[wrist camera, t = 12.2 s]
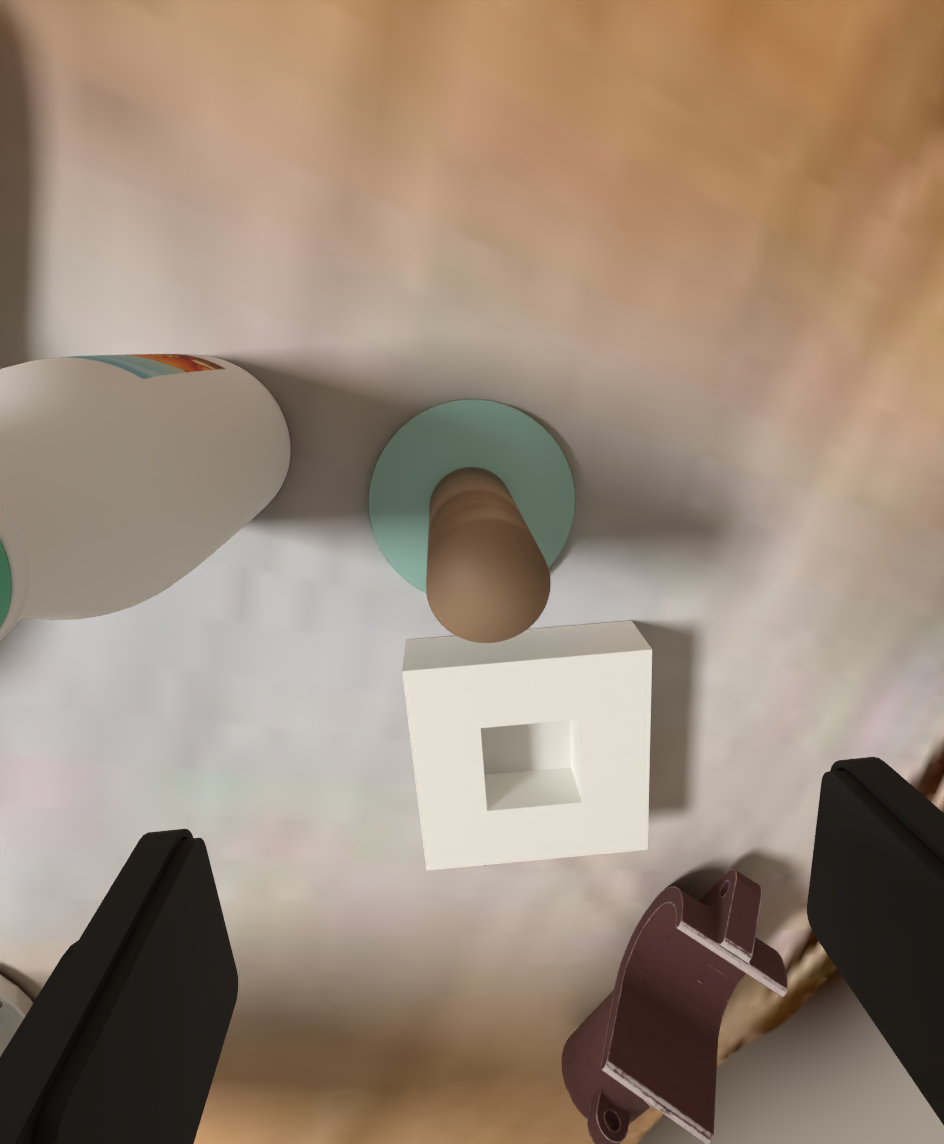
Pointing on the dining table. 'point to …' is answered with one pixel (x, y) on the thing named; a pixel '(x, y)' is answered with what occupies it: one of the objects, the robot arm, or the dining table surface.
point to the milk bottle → (126, 476)
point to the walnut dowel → (482, 559)
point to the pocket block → (531, 744)
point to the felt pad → (458, 442)
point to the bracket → (669, 1011)
